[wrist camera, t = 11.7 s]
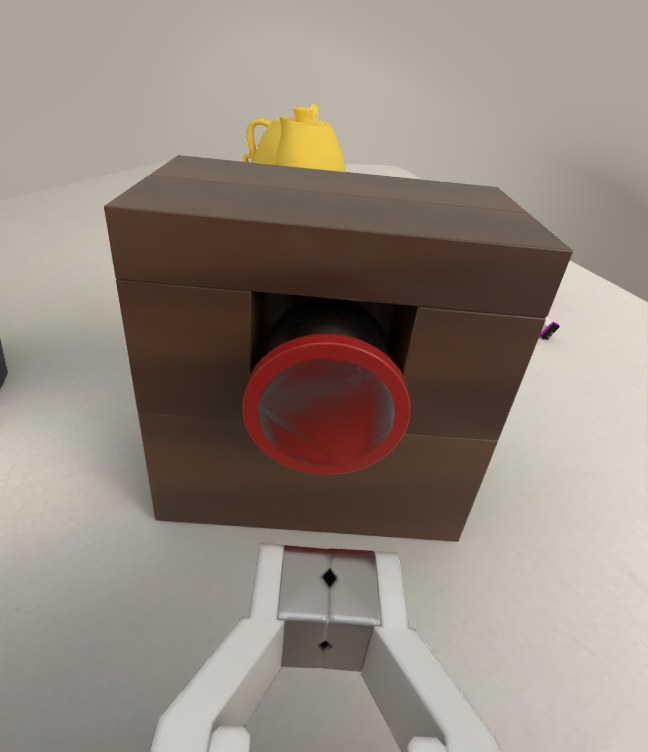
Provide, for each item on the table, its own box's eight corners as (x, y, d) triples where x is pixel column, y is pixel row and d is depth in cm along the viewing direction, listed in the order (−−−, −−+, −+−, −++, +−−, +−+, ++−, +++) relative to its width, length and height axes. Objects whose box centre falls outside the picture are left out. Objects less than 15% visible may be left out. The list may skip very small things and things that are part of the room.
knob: (395, 481, 16) (427, 351, 13) (242, 469, 16) (241, 335, 13) (384, 408, 20) (408, 291, 17) (257, 398, 20) (259, 278, 17)
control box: (458, 542, 22) (574, 250, 14) (155, 520, 22) (102, 205, 14) (430, 429, 29) (498, 186, 21) (196, 410, 28) (177, 154, 21)
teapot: (261, 175, 79) (263, 95, 73) (350, 187, 78) (360, 107, 71) (218, 205, 63) (215, 105, 56) (330, 222, 61) (339, 121, 55)
